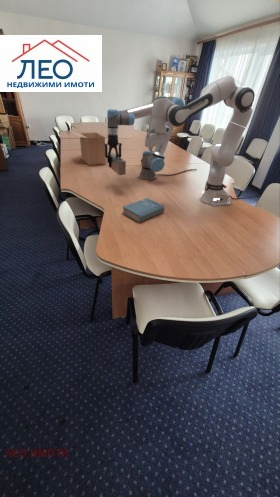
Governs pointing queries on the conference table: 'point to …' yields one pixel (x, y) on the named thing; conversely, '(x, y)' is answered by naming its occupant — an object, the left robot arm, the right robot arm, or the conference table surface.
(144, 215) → the book
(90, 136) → the box
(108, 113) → the left robot arm
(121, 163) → the bar
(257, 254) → the conference table surface
